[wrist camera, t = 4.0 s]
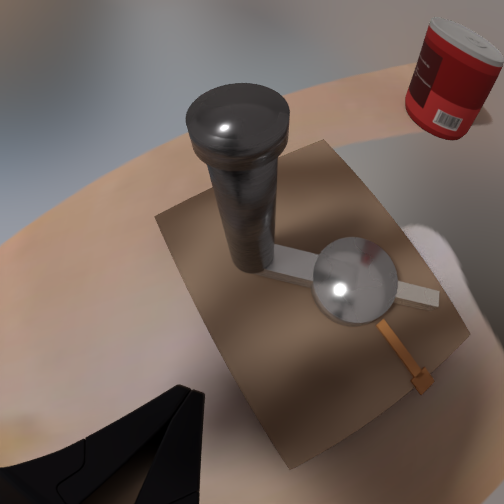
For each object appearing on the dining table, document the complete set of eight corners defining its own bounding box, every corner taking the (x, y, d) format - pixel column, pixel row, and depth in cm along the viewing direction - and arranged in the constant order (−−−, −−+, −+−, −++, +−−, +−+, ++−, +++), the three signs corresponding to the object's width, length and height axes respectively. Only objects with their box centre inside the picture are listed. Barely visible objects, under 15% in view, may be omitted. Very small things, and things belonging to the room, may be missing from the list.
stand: (462, 345, 17) (476, 341, 15) (293, 471, 14) (295, 479, 13) (321, 152, 24) (323, 137, 22) (160, 226, 21) (153, 215, 20)
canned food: (476, 136, 25) (516, 63, 15) (437, 149, 24) (481, 60, 14) (433, 92, 28) (459, 20, 18) (389, 99, 27) (414, 13, 17)
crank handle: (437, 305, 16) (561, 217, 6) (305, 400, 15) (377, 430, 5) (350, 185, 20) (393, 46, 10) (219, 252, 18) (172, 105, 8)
